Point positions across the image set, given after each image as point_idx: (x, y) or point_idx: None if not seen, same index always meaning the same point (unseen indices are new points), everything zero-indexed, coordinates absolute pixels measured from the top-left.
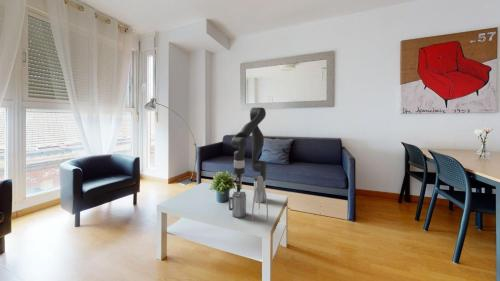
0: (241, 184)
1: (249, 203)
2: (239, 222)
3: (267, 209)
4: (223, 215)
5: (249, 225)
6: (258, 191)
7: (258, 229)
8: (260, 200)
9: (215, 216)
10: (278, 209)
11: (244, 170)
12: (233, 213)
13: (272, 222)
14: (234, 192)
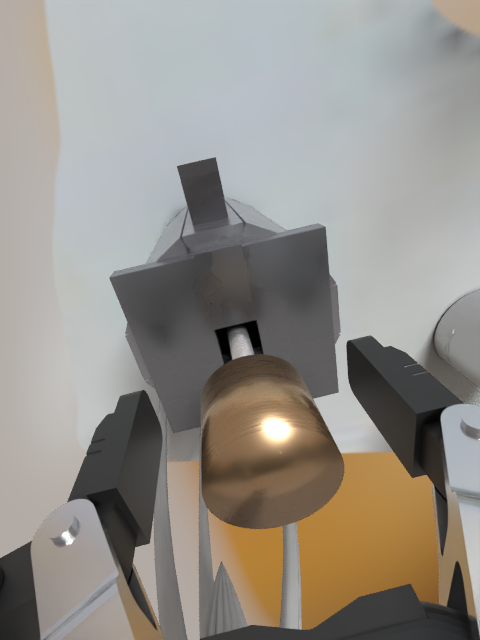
0: (294, 518)
1: (425, 271)
2: (109, 294)
3: (200, 498)
4: (162, 112)
5: (103, 365)
6: (210, 627)
7: (85, 419)
8: (446, 353)
9: (110, 21)
10: (346, 450)
11: None
12: (168, 225)
13: (190, 457)
14: (281, 248)
